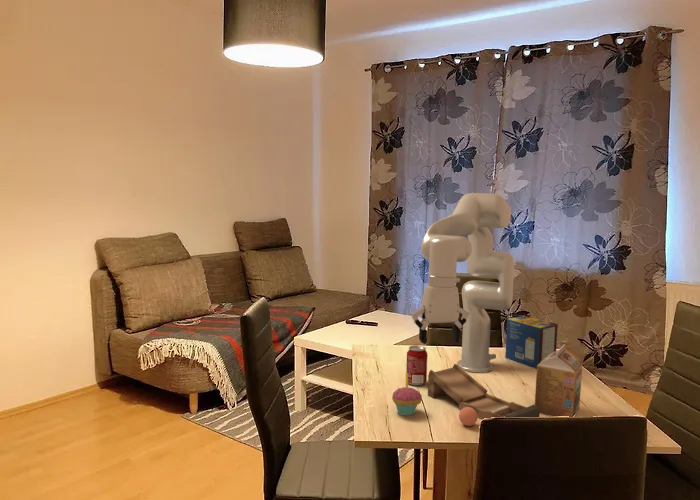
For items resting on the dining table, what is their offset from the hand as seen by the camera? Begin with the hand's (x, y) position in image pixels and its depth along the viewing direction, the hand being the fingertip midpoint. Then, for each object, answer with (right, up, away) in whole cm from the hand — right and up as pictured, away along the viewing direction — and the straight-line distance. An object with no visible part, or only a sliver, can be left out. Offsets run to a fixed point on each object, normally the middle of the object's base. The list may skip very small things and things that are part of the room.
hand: (439, 342), depth 160 cm
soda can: (-3, -18, +28) cm, 34 cm away
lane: (+13, -21, +8) cm, 26 cm away
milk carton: (+36, -22, +8) cm, 43 cm away
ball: (+7, -22, -4) cm, 24 cm away
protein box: (+42, -16, +54) cm, 70 cm away
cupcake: (-9, -21, +4) cm, 23 cm away
